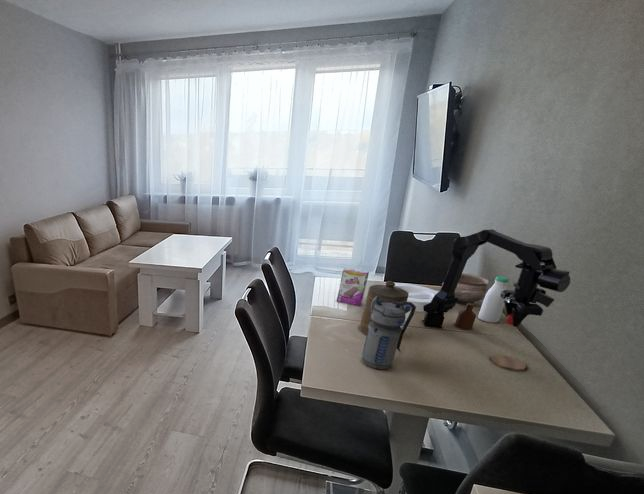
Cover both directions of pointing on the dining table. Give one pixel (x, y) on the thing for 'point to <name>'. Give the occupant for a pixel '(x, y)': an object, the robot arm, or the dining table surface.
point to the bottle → (466, 317)
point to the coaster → (508, 363)
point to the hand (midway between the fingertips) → (512, 324)
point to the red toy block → (510, 320)
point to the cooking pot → (470, 288)
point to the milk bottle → (493, 301)
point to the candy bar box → (352, 286)
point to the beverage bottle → (385, 332)
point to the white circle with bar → (417, 295)
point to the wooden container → (384, 294)
